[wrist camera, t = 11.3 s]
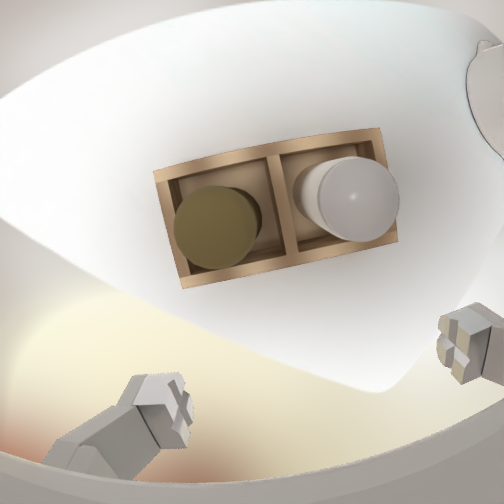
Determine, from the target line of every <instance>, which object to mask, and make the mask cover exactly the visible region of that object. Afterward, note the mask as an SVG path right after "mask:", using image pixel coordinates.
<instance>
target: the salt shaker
mask: <svg viewBox="0 0 504 504" xmlns="http://www.w3.org/2000/svg"><path fill="white" fill-rule="evenodd" d="M293 200H294V204H295V206H296V208H297V209H298V211H299V212H300V213H301V214H302V215H303V216H304V217H305V218H307V219H308V220H310V221H312V222H313V223H315V224H317V225H318V226H320V227H322V228H323V229H325V230H326V231H328V232H330V233H331V234H333V235H335V236H336V237H339V238H341V239H344V240H350V241H355V242H367V241H371V240H374V239H376V238H378V237H380V236H382V235H383V234H384V233H385V232H387V230H388V229H389V228H390V227H391V226H392V224H393V222H394V221H395V219H396V216H397V213H398V209H399V192H398V187H397V185H396V182H395V180H394V178H393V176H392V175H391V173H390V172H389V171H388V170H387V169H386V168H385V167H384V166H383V165H381V164H380V163H378V162H376V161H374V160H371V159H367V158H361V157H354V156H351V157H344V158H339V159H335V160H330V161H326V162H322V163H318V164H314V165H311V166H308V167H307V168H305V169H304V170H302V171H301V172H300V173H299V175H298V176H297V178H296V180H295V182H294V185H293Z"/></svg>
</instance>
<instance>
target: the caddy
mask: <svg viewBox="0 0 504 504" xmlns="http://www.w3.org/2000/svg"><path fill="white" fill-rule="evenodd" d="M351 156H354V157H361V158H367V159H371V160H374V161H376V162H378V163H380V164H381V165H383V166H384V167H385V168H386V169H387V170H388V166H387V161H386V156H385V151H384V146H383V141H382V136H381V132H380V128H370V129H361V130H352V131H344V132H337V133H329V134H323V135H316V136H309V137H303V138H297V139H291V140H285V141H280V142H274V143H269V144H264V145H259V146H254V147H249V148H244V149H240V150H235V151H230V152H226V153H222V154H217V155H213V156H209V157H205V158H201V159H197V160H193V161H189V162H185V163H181V164H177V165H174V166H170V167H166V168H163V169H159V170H156V171H153V174H154V178H155V183H156V187H157V192H158V196H159V201H160V205H161V209H162V213H163V217H164V221H165V225H166V229H167V233H168V237H169V241H170V245H171V249H172V253H173V256H174V260H175V264H176V267H177V271H178V275H179V278H180V282H181V285H182V289H186V288H191V287H196V286H201V285H206V284H211V283H216V282H221V281H226V280H230V279H235V278H240V277H245V276H249V275H254V274H259V273H263V272H268V271H273V270H277V269H282V268H286V267H291V266H295V265H300V264H305V263H309V262H313V261H318V260H322V259H327V258H331V257H336V256H340V255H344V254H349V253H353V252H357V251H362V250H366V249H370V248H374V247H379V246H383V245H387V244H391V243H395V242H398V236H397V226H396V219H395V221H394V222H393V224H392V226H391V227H390V228H389V229H388V230H387V232H385V233H384V234H383V235H382V236H380V237H378V238H376V239H374V240H371V241H367V242H355V241H350V240H344V239H341V238H339V237H336V236H335V235H333V234H331V233H330V232H328V231H326V230H325V229H323V228H322V227H320V226H318V225H317V224H315V223H313V222H312V221H310V220H308V219H307V218H305V217H304V216H303V215H302V214H301V213H300V212H299V211H298V209H297V208H296V206H295V204H294V200H293V185H294V182H295V180H296V178H297V176H298V175H299V173H300V172H301V171H302V170H304V169H305V168H307V167H308V166H311V165H314V164H318V163H322V162H326V161H330V160H335V159H339V158H344V157H351ZM206 186H225V187H236V188H239V189H241V190H244V191H246V192H247V193H249V194H250V195H251V196H253V197H254V199H255V200H256V202H257V203H258V205H259V206H260V210H261V214H262V227H261V230H260V232H259V235H258V237H257V238H256V239H255V241H254V244H253V246H252V249H251V250H250V251H249V253H248V254H247V255H246V256H245V258H244V259H243V260H241V261H239V262H238V263H236V264H235V265H233V266H231V267H227V268H224V269H206V268H203V267H200V266H198V265H195V264H193V263H192V262H191V261H190V260H188V259H187V258H186V257H184V255H183V254H182V252H181V251H180V249H179V248H178V246H177V244H176V241H175V237H174V234H173V229H174V218H175V215H176V212H177V209H178V207H179V206H180V204H181V203H182V202H183V200H184V199H185V198H186V197H187V196H188V195H189V194H191V193H192V192H194V191H195V190H197V189H200V188H203V187H206Z"/></svg>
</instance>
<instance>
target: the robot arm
mask: <svg viewBox="0 0 504 504" xmlns="http://www.w3.org/2000/svg"><path fill="white" fill-rule="evenodd" d="M467 92H468V98H469V102H470V106H471V109H472V112H473V115H474V118H475V120H476V122H477V125H478V127H479V129H480V131H481V132H482V134H483V136H484V137H485V139H486V140H487V142H488V143H489V144H490V145H491V147H492V148H493V149H494V150H495V151H496V152H498V153H499V154H500V155H501V156H502V158H503V159H504V44H500V45H497V46H496V45H494V44H492V43H490V42H488V41H486V40H484V41H480V42H479V44H478V50H477V55H476V57H475V58H474V59H473V60H472V62H471V63H470V65H469V68H468V72H467ZM438 329H439V330H440V332H441V335H440V336H439V338H438V340H437V354H438V358H439V360H440V362H441V363H442V364H443V365H444V366H445V367H448V368H452V370H451V374H452V375H453V376H454V377H455V379H456V380H457V381H458V382H459V383H460V384H461V385H462V384H465V383H467V382H469V381H471V380H474V379H476V378H478V377H480V376H482V377H483V378H485V379H487V380H490V381H493V382H495V383H497V384H500V385H502V386H504V318H502V317H500V316H499V315H497V314H496V313H494V312H493V311H491V310H490V309H488V308H487V307H485V306H484V305H482V304H480V303H477V302H475V303H473V304H471V305H468V306H466V307H464V308H461V309H459V310H456V311H453V312H451V313H448V314H446V315H443V316H441V317H440V319H439V324H438ZM184 386H185V382H184V379H183V377H182V375H181V374H180V373H179V372H176V373H175V372H174V373H160V374H143V375H135V376H132V378H131V379H130V381H129V383H128V385H127V387H126V388H125V390H124V392H123V394H122V396H121V397H120V400H119V401H118V403H117V405H116V406H111V407H109V408H107V409H106V410H104V411H103V412H101V413H100V414H98V415H97V416H95V417H93V418H92V419H90V420H88V421H87V422H85V423H84V424H82V425H81V426H79V427H77V428H75V429H74V430H72V431H70V432H69V433H68V434H66V435H64V436H62V437H61V438H59V439H57V440H56V441H55V443H54V445H53V446H52V448H51V449H50V451H49V452H48V454H47V456H46V457H45V459H44V460H43V462H42V464H40V463H37V462H33V461H30V460H27V459H23V458H20V457H17V456H14V455H11V454H8V453H5V452H2V451H0V504H504V398H503V399H502V400H500V401H498V402H496V403H495V404H493V405H491V406H490V407H488V408H486V409H484V410H482V411H480V412H479V413H477V414H475V415H473V416H471V417H469V418H467V419H465V420H463V421H461V422H459V423H457V424H455V425H453V426H450V427H448V428H446V429H444V430H441V431H439V432H437V433H435V434H432V435H430V436H428V437H425V438H422V439H420V440H418V441H415V442H412V443H410V444H407V445H404V446H402V447H399V448H396V449H393V450H390V451H387V452H384V453H381V454H378V455H375V456H371V457H368V458H364V459H361V460H357V461H354V462H350V463H346V464H342V465H338V466H334V467H330V468H325V469H320V470H316V471H311V472H305V473H300V474H294V475H289V476H281V477H275V478H267V479H258V480H248V481H237V482H221V483H220V482H219V483H163V482H146V481H135V480H134V481H133V480H132V479H133V478H134V477H135V476H136V475H137V474H138V473H139V472H140V471H141V470H142V469H143V468H144V467H145V466H146V465H147V464H148V463H149V462H150V461H151V460H152V459H153V458H154V457H155V456H156V455H157V454H158V453H159V452H160V449H182V448H187V447H188V442H189V437H190V431H189V428H188V426H190V425H191V424H192V423H193V418H194V407H193V403H192V399H191V397H190V394H188V393H187V392H185V391H184V390H183V389H184Z"/></svg>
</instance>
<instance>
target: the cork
mask: <svg viewBox="0 0 504 504" xmlns="http://www.w3.org/2000/svg"><path fill="white" fill-rule="evenodd" d="M261 227H262V214H261V210H260V206H259V205H258V203H257V202H256V200H255V199H254V197H253V196H251V195H250V194H249V193H247V192H246V191H244V190H241V189H239V188H236V187H225V186H206V187H203V188H200V189H197V190H195V191H194V192H192V193H191V194H189V195H188V196H187V197H186V198H185V199H184V200H183V202H182V203H181V204H180V206H179V207H178V209H177V212H176V215H175V218H174V229H173V234H174V237H175V241H176V244H177V246H178V248H179V249H180V251H181V252H182V254H183V255H184V257H186V258H187V259H188V260H190V261H191V262H192V263H193V264H195V265H198V266H200V267H203V268H206V269H224V268H227V267H231V266H233V265H235V264H236V263H238V262H239V261H241V260H243V259H244V258H245V256H246V255H247V254H248V253H249V251H250V250H251V249H252V246H253V244H254V241H255V239H256V238H257V237H258V235H259V232H260V230H261Z"/></svg>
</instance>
